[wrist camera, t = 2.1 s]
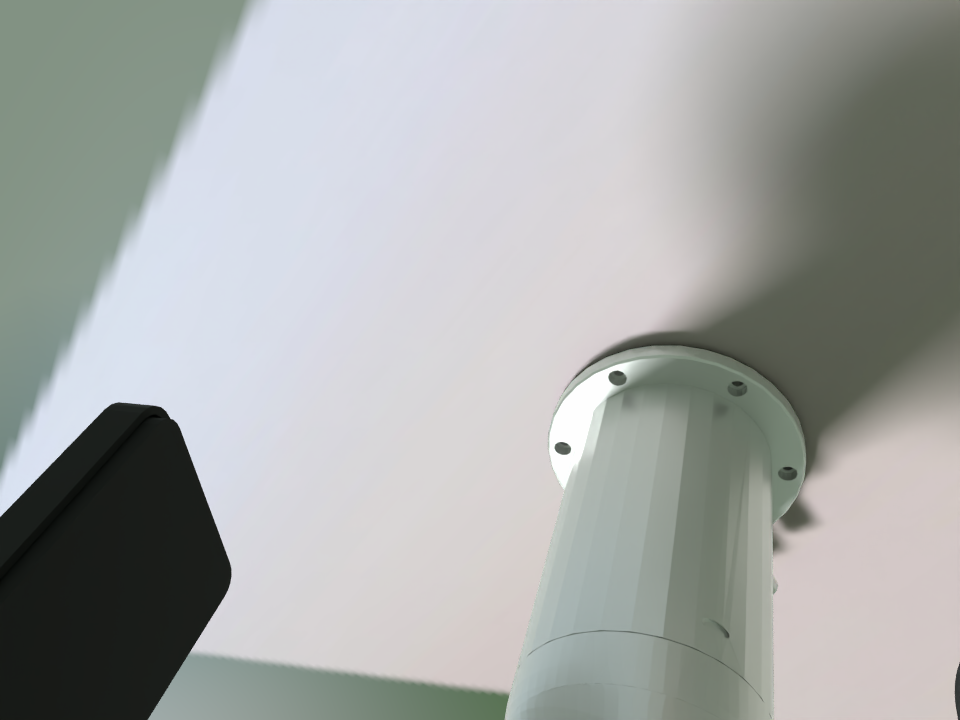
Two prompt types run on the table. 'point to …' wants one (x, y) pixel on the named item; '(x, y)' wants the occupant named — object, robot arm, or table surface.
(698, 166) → the table surface
